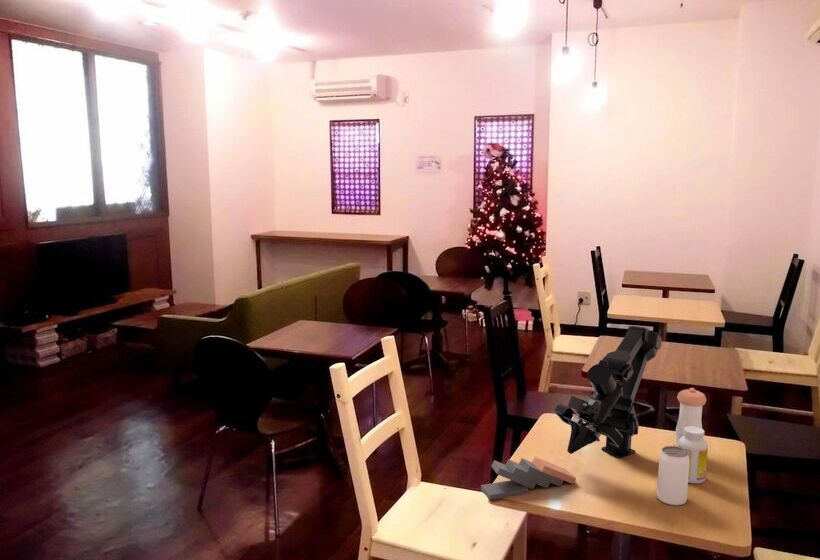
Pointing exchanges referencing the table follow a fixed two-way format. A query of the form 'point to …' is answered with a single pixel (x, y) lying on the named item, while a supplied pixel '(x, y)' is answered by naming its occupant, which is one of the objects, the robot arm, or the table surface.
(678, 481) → the can
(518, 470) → the domino
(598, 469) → the table surface
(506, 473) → the domino
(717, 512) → the table surface
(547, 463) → the domino
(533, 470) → the domino
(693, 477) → the supplement bottle
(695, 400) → the salt shaker
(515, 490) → the domino
